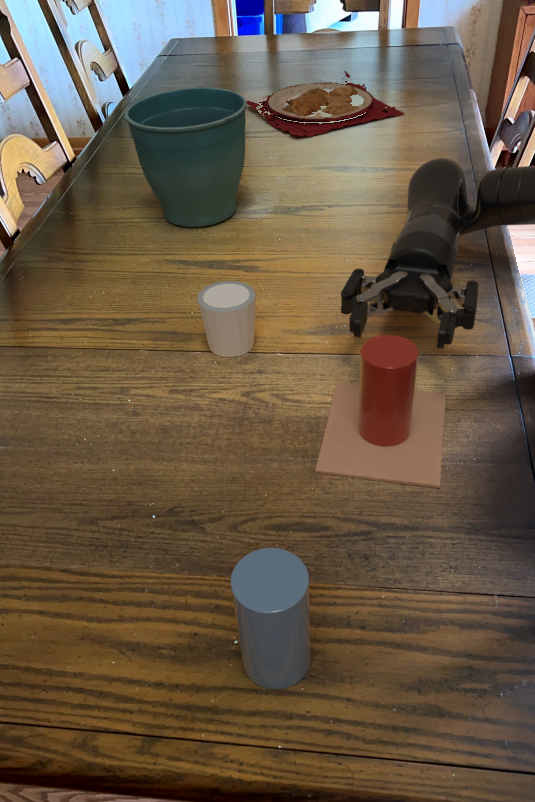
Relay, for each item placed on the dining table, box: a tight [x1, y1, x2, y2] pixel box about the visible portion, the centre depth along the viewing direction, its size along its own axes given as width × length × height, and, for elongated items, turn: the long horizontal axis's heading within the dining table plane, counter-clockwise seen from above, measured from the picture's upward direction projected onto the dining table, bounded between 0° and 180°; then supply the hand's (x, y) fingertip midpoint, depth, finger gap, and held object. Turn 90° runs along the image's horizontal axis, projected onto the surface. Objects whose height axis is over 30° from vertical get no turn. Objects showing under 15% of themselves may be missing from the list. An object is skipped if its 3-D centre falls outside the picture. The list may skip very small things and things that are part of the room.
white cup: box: [196, 280, 256, 358], centre depth 86 cm, size 7×7×7 cm
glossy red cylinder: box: [358, 334, 419, 447], centre depth 71 cm, size 5×5×10 cm
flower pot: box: [124, 87, 248, 228], centre depth 112 cm, size 18×18×17 cm
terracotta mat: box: [314, 382, 447, 489], centre depth 74 cm, size 12×14×1 cm
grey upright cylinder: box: [230, 547, 312, 690], centre depth 52 cm, size 5×5×10 cm
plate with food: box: [246, 70, 405, 138], centre depth 150 cm, size 24×26×3 cm
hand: (397, 335), depth 73 cm, fingers open, 8 cm apart
